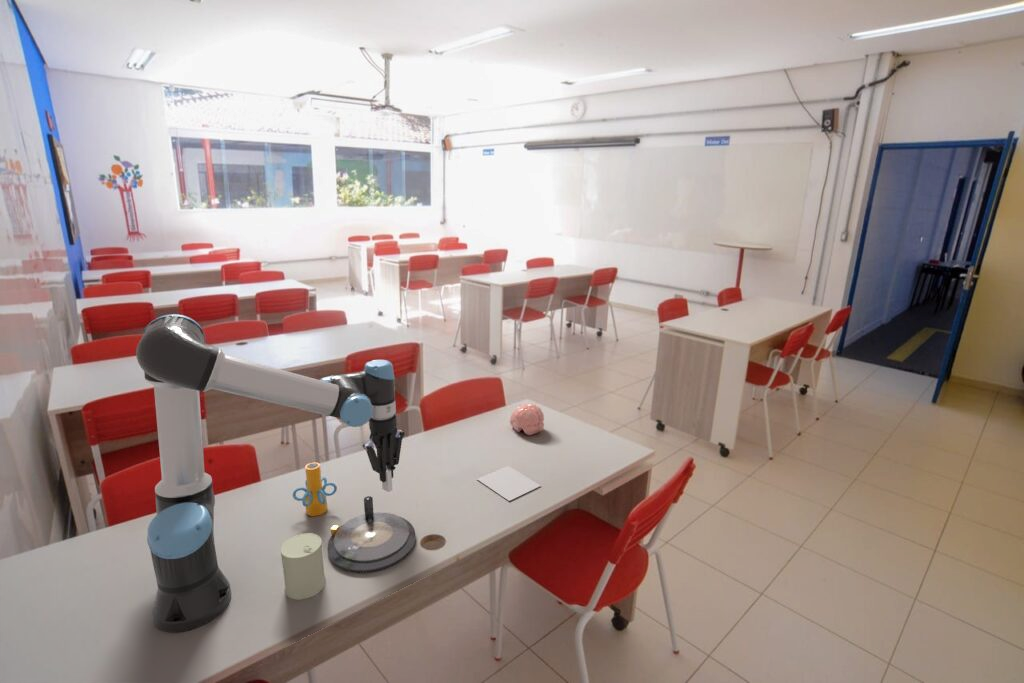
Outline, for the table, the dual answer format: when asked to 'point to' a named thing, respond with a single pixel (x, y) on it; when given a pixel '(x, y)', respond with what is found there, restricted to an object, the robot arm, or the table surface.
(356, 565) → the turntable base
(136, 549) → the table surface
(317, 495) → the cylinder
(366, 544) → the turntable
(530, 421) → the brain
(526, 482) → the paper stack
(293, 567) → the can
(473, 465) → the table surface
